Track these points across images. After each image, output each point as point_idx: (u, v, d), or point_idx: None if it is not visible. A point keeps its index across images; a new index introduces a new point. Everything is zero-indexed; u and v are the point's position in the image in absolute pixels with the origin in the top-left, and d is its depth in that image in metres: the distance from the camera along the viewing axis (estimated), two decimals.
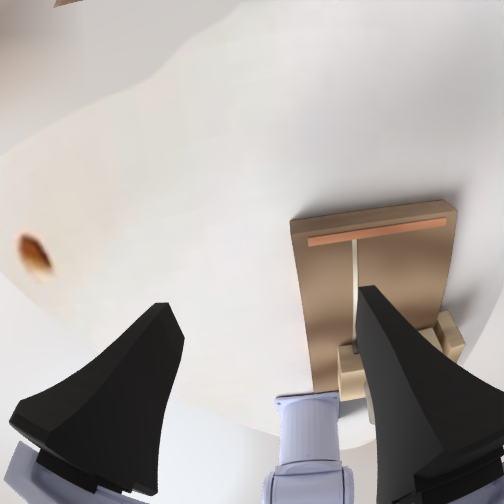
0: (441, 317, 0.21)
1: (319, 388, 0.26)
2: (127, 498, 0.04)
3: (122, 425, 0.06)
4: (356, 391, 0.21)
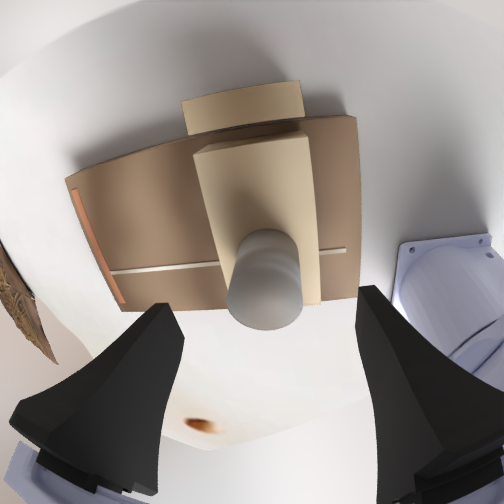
0: None
1: (347, 291, 0.18)
2: (127, 498, 0.04)
3: (122, 425, 0.06)
4: None
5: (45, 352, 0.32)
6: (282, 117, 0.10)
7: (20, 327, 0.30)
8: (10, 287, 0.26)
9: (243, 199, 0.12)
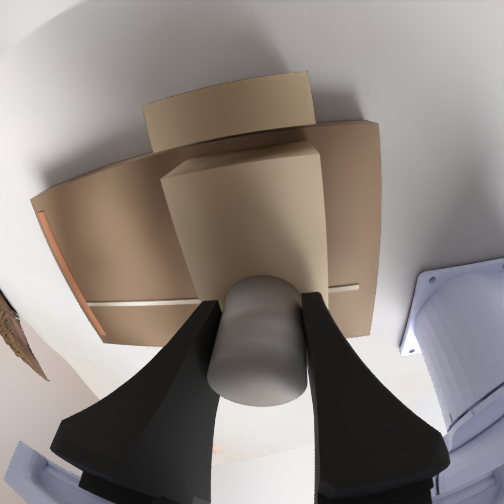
0: None
1: (357, 329, 0.15)
2: None
3: (183, 437, 0.06)
4: None
5: (35, 369, 0.29)
6: (283, 125, 0.07)
7: (9, 344, 0.27)
8: None
9: (229, 238, 0.09)
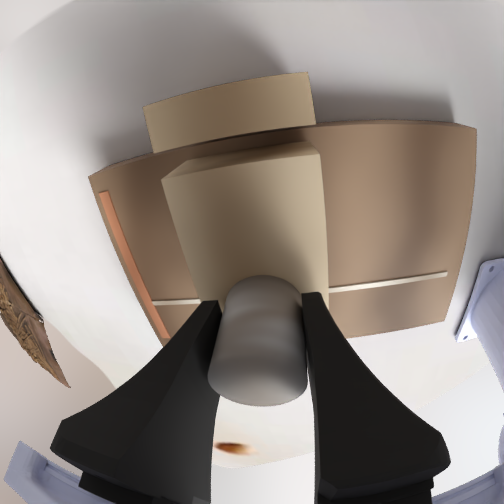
0: None
1: (436, 316, 0.14)
2: None
3: (183, 437, 0.06)
4: None
5: (55, 375, 0.28)
6: (283, 125, 0.07)
7: (26, 348, 0.26)
8: (13, 306, 0.22)
9: (229, 239, 0.09)
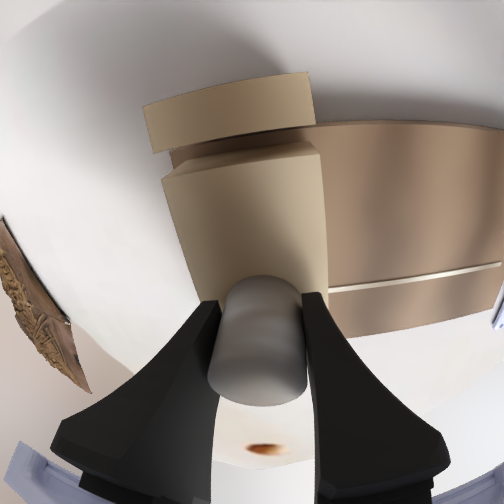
0: None
1: (488, 303, 0.14)
2: None
3: (183, 437, 0.06)
4: None
5: (76, 381, 0.28)
6: (283, 125, 0.07)
7: (43, 353, 0.25)
8: (32, 307, 0.21)
9: (229, 239, 0.09)
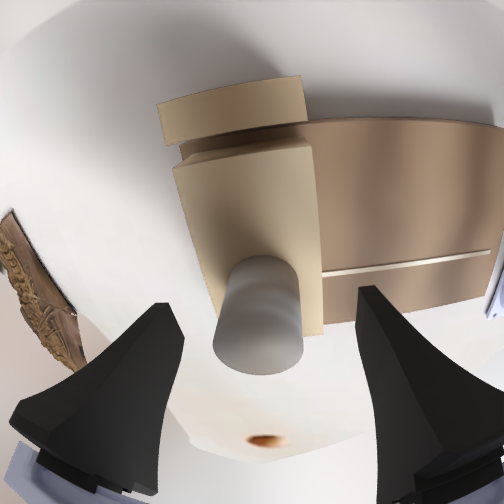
0: None
1: (479, 290, 0.15)
2: (127, 498, 0.04)
3: (122, 425, 0.06)
4: None
5: None
6: (279, 121, 0.08)
7: (47, 346, 0.26)
8: (38, 299, 0.22)
9: (232, 221, 0.11)
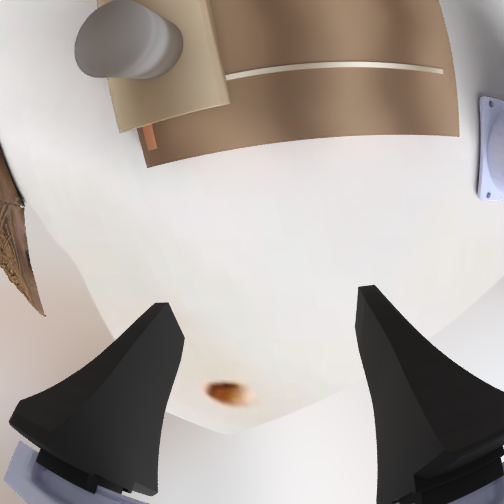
0: None
1: (449, 125, 0.12)
2: (127, 498, 0.04)
3: (122, 425, 0.06)
4: (179, 82, 0.10)
5: (30, 298, 0.26)
6: None
7: (3, 264, 0.23)
8: None
9: None
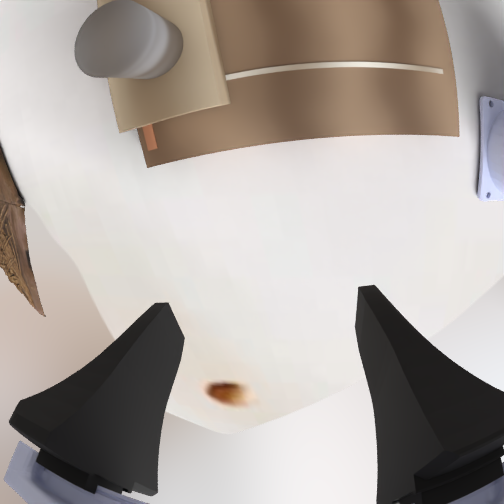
0: None
1: (449, 125, 0.12)
2: (127, 498, 0.04)
3: (122, 425, 0.06)
4: (179, 82, 0.10)
5: (30, 298, 0.26)
6: None
7: (3, 264, 0.23)
8: None
9: None
